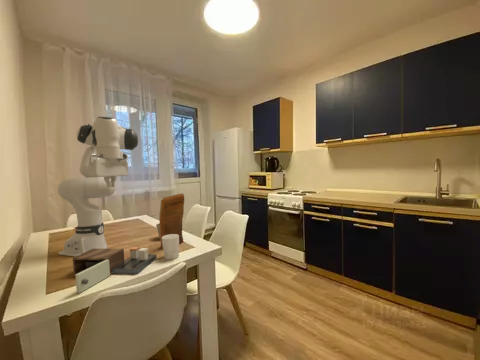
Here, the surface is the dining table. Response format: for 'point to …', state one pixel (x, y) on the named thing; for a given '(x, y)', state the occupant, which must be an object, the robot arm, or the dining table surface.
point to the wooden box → (97, 259)
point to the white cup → (170, 246)
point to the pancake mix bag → (171, 216)
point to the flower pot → (158, 229)
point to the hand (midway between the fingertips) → (111, 187)
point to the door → (92, 276)
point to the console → (133, 265)
